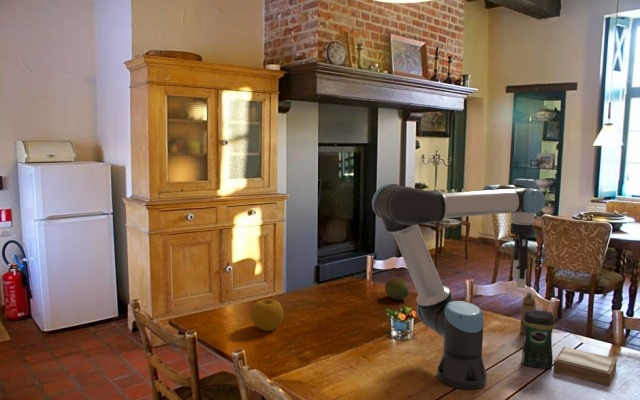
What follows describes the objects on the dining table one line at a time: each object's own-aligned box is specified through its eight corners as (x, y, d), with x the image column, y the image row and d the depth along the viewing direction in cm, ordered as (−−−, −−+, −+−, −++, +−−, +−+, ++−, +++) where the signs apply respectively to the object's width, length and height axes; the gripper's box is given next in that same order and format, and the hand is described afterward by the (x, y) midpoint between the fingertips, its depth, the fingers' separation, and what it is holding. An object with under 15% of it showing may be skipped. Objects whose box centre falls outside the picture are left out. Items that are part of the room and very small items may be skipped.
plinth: (609, 386, 155) (610, 373, 155) (553, 372, 165) (554, 359, 164) (615, 370, 166) (616, 357, 166) (563, 357, 176) (563, 345, 176)
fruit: (395, 293, 250) (396, 273, 249) (415, 299, 241) (416, 279, 240) (379, 297, 243) (379, 277, 242) (399, 304, 233) (399, 283, 232)
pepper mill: (532, 337, 194) (534, 295, 192) (518, 334, 197) (520, 292, 195) (536, 333, 198) (538, 292, 196) (522, 330, 201) (524, 289, 199)
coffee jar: (551, 361, 173) (555, 309, 171) (552, 371, 165) (556, 316, 163) (521, 357, 176) (524, 305, 174) (520, 366, 169) (523, 312, 167)
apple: (246, 332, 197) (246, 304, 196) (258, 321, 210) (258, 294, 209) (277, 335, 194) (277, 307, 193) (287, 324, 207) (287, 297, 206)
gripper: (539, 229, 164) (535, 293, 166) (529, 219, 188) (525, 274, 190) (514, 227, 166) (510, 291, 168) (507, 217, 190) (504, 273, 192)
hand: (518, 282), depth 179 cm, fingers open, 13 cm apart
